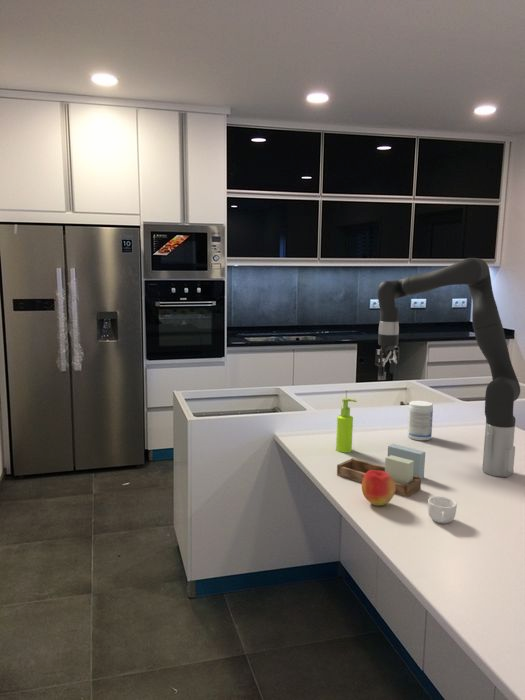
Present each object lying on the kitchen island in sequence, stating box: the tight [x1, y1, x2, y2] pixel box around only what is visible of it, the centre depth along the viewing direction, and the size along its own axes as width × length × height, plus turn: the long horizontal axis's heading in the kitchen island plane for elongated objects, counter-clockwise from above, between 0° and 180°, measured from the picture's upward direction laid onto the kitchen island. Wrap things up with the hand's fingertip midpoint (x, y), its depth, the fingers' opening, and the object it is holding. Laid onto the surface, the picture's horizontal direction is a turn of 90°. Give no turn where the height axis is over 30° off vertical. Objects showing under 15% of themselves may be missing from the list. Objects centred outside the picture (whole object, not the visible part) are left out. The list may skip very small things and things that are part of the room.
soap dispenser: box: [335, 398, 357, 453], centre depth 216 cm, size 6×7×20 cm
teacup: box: [427, 495, 457, 524], centre depth 157 cm, size 10×8×5 cm
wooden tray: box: [336, 457, 422, 498], centre depth 185 cm, size 26×8×4 cm, turn 48°
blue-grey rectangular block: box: [387, 443, 426, 480], centre depth 193 cm, size 12×4×9 cm, turn 48°
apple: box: [361, 470, 396, 507], centre depth 168 cm, size 10×10×10 cm
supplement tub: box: [407, 400, 434, 442], centre depth 234 cm, size 10×10×15 cm
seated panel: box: [384, 455, 414, 485], centre depth 180 cm, size 8×4×9 cm, turn 48°
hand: (386, 374), depth 220 cm, fingers open, 8 cm apart
